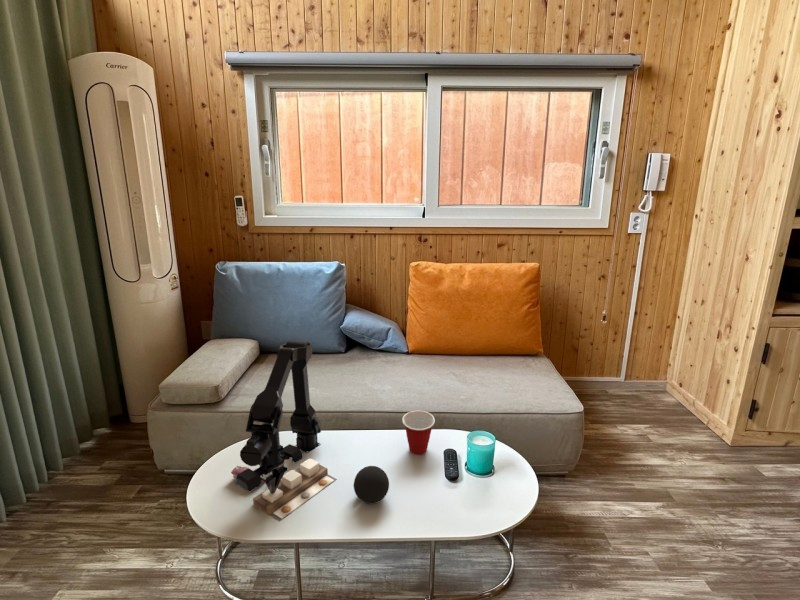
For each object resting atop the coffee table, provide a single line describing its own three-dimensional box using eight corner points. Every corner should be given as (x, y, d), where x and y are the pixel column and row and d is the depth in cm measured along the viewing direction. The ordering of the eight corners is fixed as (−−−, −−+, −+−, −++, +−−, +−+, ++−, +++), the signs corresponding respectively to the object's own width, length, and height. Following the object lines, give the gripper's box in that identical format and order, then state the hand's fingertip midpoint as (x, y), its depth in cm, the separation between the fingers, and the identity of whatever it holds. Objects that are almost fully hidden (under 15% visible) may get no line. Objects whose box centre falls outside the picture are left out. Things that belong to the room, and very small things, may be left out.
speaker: (347, 506, 130) (347, 475, 128) (363, 484, 139) (363, 455, 137) (380, 515, 127) (380, 484, 124) (394, 493, 136) (394, 463, 133)
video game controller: (235, 483, 142) (225, 471, 137) (245, 470, 145) (235, 458, 140) (260, 493, 137) (250, 481, 133) (269, 479, 140) (260, 467, 136)
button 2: (310, 466, 144) (309, 458, 143) (319, 471, 142) (319, 462, 141) (300, 473, 141) (299, 464, 140) (309, 478, 139) (309, 469, 138)
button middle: (292, 478, 139) (292, 469, 138) (302, 483, 136) (301, 474, 135) (282, 485, 135) (281, 476, 135) (291, 490, 133) (290, 481, 132)
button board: (311, 467, 147) (311, 460, 146) (337, 480, 141) (337, 473, 140) (253, 506, 130) (253, 498, 129) (279, 523, 124) (278, 515, 123)
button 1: (274, 494, 134) (273, 485, 133) (283, 500, 131) (282, 491, 130) (262, 502, 130) (262, 493, 130) (272, 508, 128) (271, 499, 127)
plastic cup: (399, 458, 152) (400, 425, 149) (404, 440, 162) (404, 409, 159) (432, 461, 151) (433, 428, 147) (435, 442, 161) (436, 411, 158)
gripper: (276, 419, 138) (280, 465, 142) (220, 449, 123) (226, 498, 127) (302, 432, 131) (305, 479, 136) (246, 464, 117) (251, 516, 121)
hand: (272, 492), depth 130 cm, fingers closed, pressing on button 1
